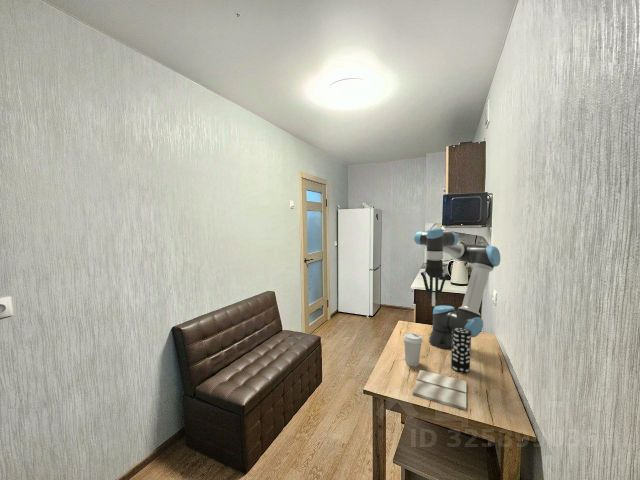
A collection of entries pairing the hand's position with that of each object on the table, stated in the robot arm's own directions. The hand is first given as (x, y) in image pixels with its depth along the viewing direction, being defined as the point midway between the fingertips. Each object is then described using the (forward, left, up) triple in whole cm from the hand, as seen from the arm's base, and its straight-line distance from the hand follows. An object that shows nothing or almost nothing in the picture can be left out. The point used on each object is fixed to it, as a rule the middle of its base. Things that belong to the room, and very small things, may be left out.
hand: (433, 305), depth 137 cm
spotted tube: (-11, +8, -32) cm, 35 cm away
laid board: (+15, +20, -31) cm, 40 cm away
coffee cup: (+8, -5, -32) cm, 33 cm away
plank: (+7, +14, -31) cm, 35 cm away
